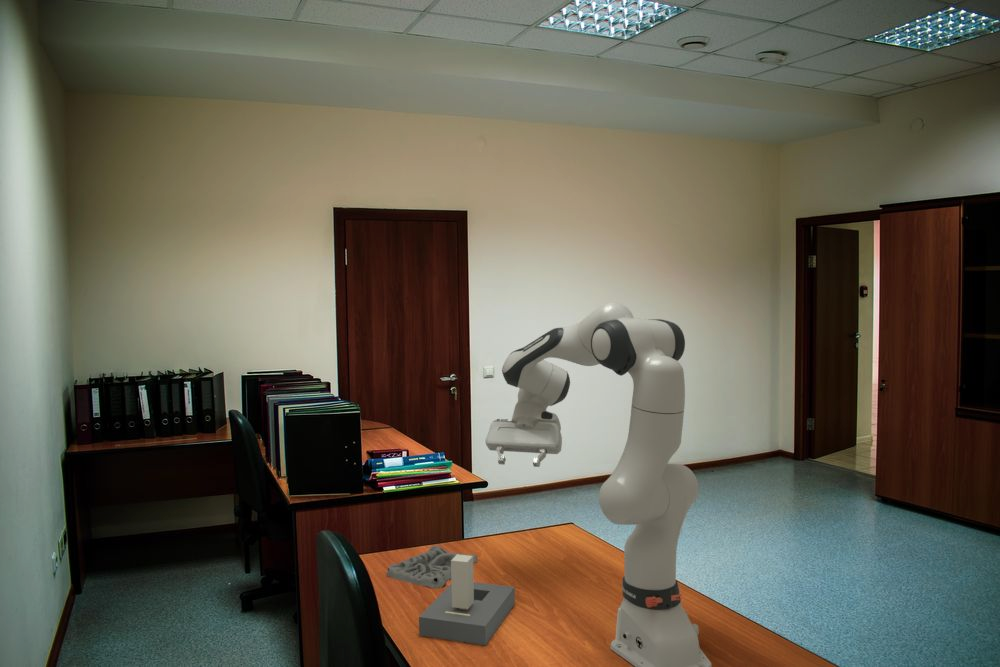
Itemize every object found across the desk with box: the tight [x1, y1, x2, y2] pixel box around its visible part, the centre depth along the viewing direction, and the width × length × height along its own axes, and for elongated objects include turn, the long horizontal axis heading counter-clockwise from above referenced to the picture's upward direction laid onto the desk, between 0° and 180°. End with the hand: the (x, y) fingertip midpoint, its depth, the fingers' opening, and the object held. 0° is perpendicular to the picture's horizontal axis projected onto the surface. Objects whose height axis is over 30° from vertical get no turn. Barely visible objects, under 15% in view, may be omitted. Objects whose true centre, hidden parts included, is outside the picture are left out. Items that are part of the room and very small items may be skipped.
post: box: [450, 554, 475, 610], centre depth 166 cm, size 4×4×16 cm
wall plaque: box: [386, 545, 479, 589], centre depth 202 cm, size 24×19×4 cm
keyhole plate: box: [418, 581, 516, 647], centre depth 169 cm, size 22×16×5 cm
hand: (518, 464), depth 184 cm, fingers open, 8 cm apart
